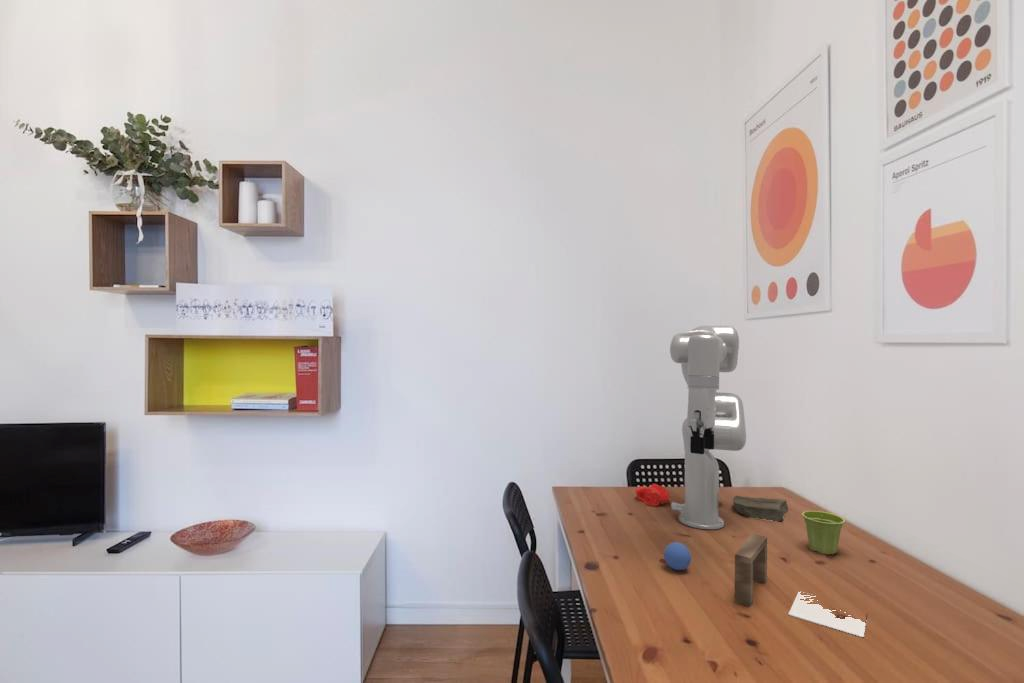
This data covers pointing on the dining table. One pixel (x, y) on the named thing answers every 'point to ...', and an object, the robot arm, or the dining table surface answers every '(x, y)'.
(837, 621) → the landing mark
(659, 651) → the dining table surface
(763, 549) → the bridge
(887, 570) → the dining table surface
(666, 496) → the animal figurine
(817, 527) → the plant pot
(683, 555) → the ball
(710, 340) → the robot arm
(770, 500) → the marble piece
